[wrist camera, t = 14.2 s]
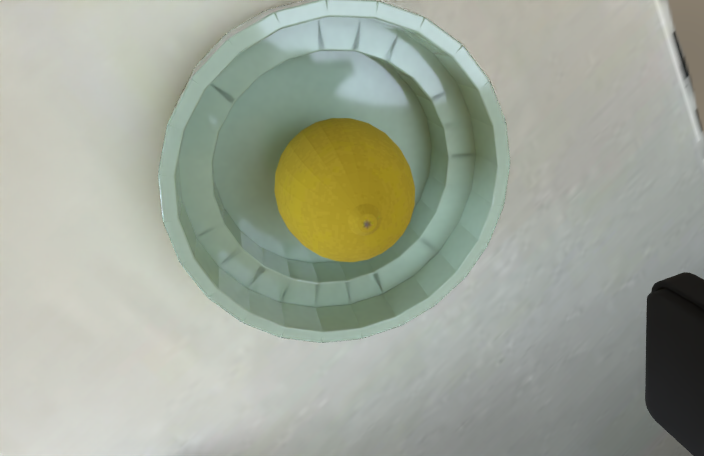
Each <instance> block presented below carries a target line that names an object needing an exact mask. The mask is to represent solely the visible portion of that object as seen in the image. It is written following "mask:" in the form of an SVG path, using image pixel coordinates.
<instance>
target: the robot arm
mask: <svg viewBox="0 0 704 456" xmlns="http://www.w3.org/2000/svg"><path fill="white" fill-rule="evenodd" d="M645 401H646V406H647V409H648V411H649V413H650V414H651V416H652V417H653V418H654V419H655V421H656V422H657V423H659V424H660V425H661V426H662V427H663V428H664V429H665V430H666V431H667V432H668V433H669V434H671V435H672V436H673V437H674V438H675V439H676V440H677V441H678V442H679V443H680V444H681V445H683V446H684V447H685V448H686V449H687V450H688V451H689V452H690V453H691V454H692V455H693V456H704V280H703V279H701V278H700V277H698V276H696V275H694V274H691V273H681V274H678V275H676V276H673V277H670V278H667V279H665V280H662V281H659V282H657V283H655V284H654V286H653V287H652V292H651V293H650V294H649V295H648V297H647V326H646V389H645Z"/></svg>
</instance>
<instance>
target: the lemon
mask: <svg viewBox="0 0 704 456" xmlns="http://www.w3.org/2000/svg"><path fill="white" fill-rule="evenodd" d="M274 192H275V197H276V201H277V206H278V210H279V213H280V215H281V217H282V219H283V220H284V222H285V224H286V226H287V228H288V229H289V231H290V232H291V233H292V234H293V235H294V236H295V237H296V238H297V239H298V240H299V241H300V243H301V244H302V245H304V246H305V247H306V248H308V249H310V250H311V251H313V252H314V253H316V254H318V255H319V256H321V257H324V258H328V259H331V260H334V261H339V262H358V261H363V260H368V259H371V258H373V257H375V256H377V255H380V254H382V253H383V252H385V251H386V250H387V249H389V248H390V247H392V246H393V245H394V244H395V243H396V242H397V241H398V239H399V238H400V237H401V236H402V235H403V234H404V232H405V230H406V228H407V226H408V225H409V223H410V220H411V217H412V213H413V209H414V205H415V185H414V181H413V177H412V173H411V169H410V166H409V164H408V162H407V160H406V158H405V157H404V155H403V153H402V151H401V150H400V148H399V147H398V146H397V145H396V144H395V143H394V142H393V141H392V140H391V138H390V137H389V136H388V135H387V134H386V133H384V132H383V131H381V130H379V129H378V128H376V127H374V126H372V125H371V124H369V123H367V122H363V121H359V120H355V119H351V118H330V119H326V120H323V121H319V122H315V123H314V124H312V125H310V126H308V127H307V128H305V129H303V130H301V131H300V132H299V133H298V134H297V135H296V136H295V137H294V138H293V139H292V140H291V141H290V142H289V143H288V145H287V146H286V148H285V150H284V151H283V153H282V154H281V157H280V160H279V163H278V166H277V169H276V172H275V191H274Z"/></svg>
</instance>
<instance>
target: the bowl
mask: <svg viewBox="0 0 704 456" xmlns="http://www.w3.org/2000/svg"><path fill="white" fill-rule="evenodd" d="M330 118H351V119H355V120H359V121H363V122H367V123H369V124H371V125H372V126H374V127H376V128H378V129H379V130H381V131H383V132H384V133H386V134H387V135H388V136H389V137H390V138H391V140H392V141H393V142H394V143H395V144H396V145H397V146H398V147H399V148H400V150H401V151H402V153H403V155H404V157H405V158H406V160H407V162H408V164H409V166H410V169H411V173H412V177H413V181H414V185H415V205H414V209H413V213H412V217H411V220H410V223H409V225H408V226H407V228H406V230H405V232H404V234H403V235H402V236H401V237H400V238H399V239H398V241H397V242H396V243H395V244H394V245H393V246H392V247H390V248H389V249H387V250H386V251H385V252H383V253H382V254H380V255H377V256H375V257H373V258H371V259H368V260H363V261H358V262H339V261H334V260H331V259H328V258H324V257H321V256H319V255H318V254H316V253H314V252H313V251H311V250H310V249H308V248H306V247H305V246H304V245H302V244H301V243H300V241H299V240H298V239H297V238H296V237H295V236H294V235H293V234H292V233H291V232H290V231H289V229H288V228H287V226H286V224H285V222H284V220H283V219H282V217H281V215H280V213H279V210H278V206H277V201H276V197H275V192H274V191H275V172H276V169H277V166H278V163H279V160H280V157H281V154H282V153H283V151H284V150H285V148H286V146H287V145H288V143H289V142H290V141H291V140H292V139H293V138H294V137H295V136H296V135H297V134H298V133H299V132H300V131H301V130H303V129H305V128H307V127H308V126H310V125H312V124H314V123H315V122H319V121H323V120H326V119H330ZM509 169H510V155H509V146H508V136H507V126H506V122H505V118H504V116H503V113H502V110H501V108H500V105H499V103H498V100H497V97H496V95H495V92H494V90H493V87H492V85H491V82H490V81H489V79H488V77H487V76H486V75H485V73H484V72H483V71H482V69H481V68H480V67H479V65H478V64H477V63H476V61H475V60H474V59H473V58H472V56H471V55H470V54H469V52H468V51H467V50H466V48H465V47H464V46H463V45H462V44H461V43H460V42H459V41H457V40H456V39H454V38H453V37H452V36H450V35H449V34H448V33H446V32H445V31H443V30H442V29H441V28H439V27H438V26H437V25H435V24H434V23H432V22H431V21H430V20H428V19H427V18H425V17H423V16H421V15H418V14H415V13H413V12H410V11H407V10H404V9H401V8H398V7H395V6H392V5H390V4H387V3H384V2H381V1H376V0H303V1H299V2H295V3H291V4H287V5H283V6H280V7H276V8H272V9H268V10H266V11H263V12H261V13H259V14H258V15H256V16H254V17H252V18H251V19H249V20H247V21H246V22H244V23H242V24H241V25H239V26H237V27H236V28H234V29H232V30H230V31H229V32H228V33H227V34H225V35H224V36H223V37H222V38H221V39H220V40H219V41H218V42H217V43H216V44H215V45H214V46H213V48H212V49H211V50H210V51H209V52H208V53H207V54H206V55H205V56H204V57H203V58H202V59H201V60H200V61H199V62H198V64H197V65H196V67H195V68H194V70H193V71H192V73H191V75H190V77H189V79H188V81H187V83H186V85H185V87H184V89H183V91H182V93H181V95H180V97H179V99H178V101H177V103H176V105H175V108H174V110H173V112H172V115H171V117H170V119H169V122H168V125H167V127H166V133H165V138H164V144H163V149H162V154H161V160H160V165H159V170H158V181H159V190H160V200H161V209H162V219H163V223H164V226H165V228H166V231H167V233H168V235H169V238H170V240H171V243H172V245H173V248H174V250H175V252H176V255H177V257H178V260H179V262H180V263H181V265H182V266H183V268H184V269H185V270H186V271H187V273H188V274H189V275H190V276H191V278H192V279H193V280H194V281H195V283H196V284H197V285H198V286H199V288H200V289H201V290H202V291H203V293H204V294H205V295H206V296H207V297H208V298H209V299H210V300H211V301H213V302H214V303H216V304H217V305H218V306H220V307H221V308H222V309H224V310H225V311H227V312H228V313H229V314H231V315H232V316H234V317H235V318H236V319H238V320H239V321H240V322H243V323H244V324H247V325H249V326H252V327H254V328H257V329H260V330H262V331H265V332H267V333H270V334H272V335H275V336H278V337H281V338H287V339H295V340H302V341H310V342H318V343H321V342H322V343H325V342H335V341H345V340H355V339H361V338H366V337H369V336H372V335H375V334H378V333H381V332H384V331H387V330H390V329H393V328H396V327H399V326H401V325H403V324H405V323H407V322H408V321H410V320H412V319H413V318H415V317H417V316H418V315H420V314H422V313H423V312H425V311H427V310H428V309H430V308H432V307H434V306H435V305H436V304H437V303H438V302H439V301H441V300H442V299H443V298H444V297H445V296H446V295H447V294H448V293H449V292H450V291H451V290H452V289H453V288H455V287H456V286H457V285H458V284H459V283H460V282H461V281H462V280H463V279H464V277H466V276H467V275H468V273H469V272H470V270H471V269H472V267H473V266H474V265H475V263H476V262H477V260H478V259H479V257H480V256H481V254H482V253H483V252H484V250H485V249H486V247H487V246H488V243H489V242H490V239H491V237H492V234H493V232H494V229H495V227H496V224H497V222H498V219H499V217H500V214H501V212H502V209H503V205H504V202H505V196H506V189H507V182H508V175H509Z"/></svg>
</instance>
